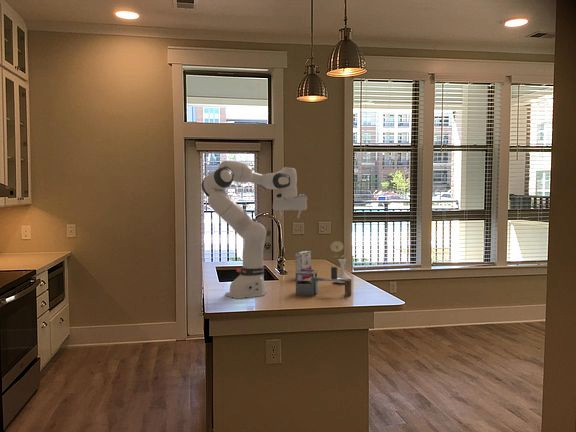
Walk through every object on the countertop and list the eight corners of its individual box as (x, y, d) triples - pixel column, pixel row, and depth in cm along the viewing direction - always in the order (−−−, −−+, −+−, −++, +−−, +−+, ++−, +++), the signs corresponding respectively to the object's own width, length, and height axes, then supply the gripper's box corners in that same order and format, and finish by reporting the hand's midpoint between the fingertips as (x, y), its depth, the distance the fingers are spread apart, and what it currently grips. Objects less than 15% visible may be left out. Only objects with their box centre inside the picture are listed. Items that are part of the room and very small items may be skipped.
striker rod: (348, 292, 267) (348, 266, 267) (347, 294, 262) (347, 268, 261) (312, 291, 272) (312, 265, 271) (310, 293, 266) (310, 267, 265)
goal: (317, 291, 274) (317, 269, 273) (313, 296, 262) (313, 273, 262) (300, 291, 276) (299, 269, 275) (295, 295, 264) (295, 273, 264)
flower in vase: (353, 281, 302) (353, 240, 301) (350, 285, 291) (350, 242, 290) (332, 280, 306) (331, 239, 304) (328, 284, 295) (328, 241, 293)
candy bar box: (305, 275, 323) (305, 250, 322) (311, 276, 320) (311, 251, 319) (295, 278, 314) (294, 252, 313) (301, 279, 311) (301, 253, 310)
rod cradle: (351, 294, 267) (351, 278, 266) (350, 296, 262) (350, 280, 261) (345, 293, 267) (345, 278, 267) (344, 295, 262) (344, 280, 262)
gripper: (307, 194, 297) (308, 217, 298) (273, 194, 299) (273, 217, 300) (306, 194, 291) (307, 218, 292) (272, 194, 293) (272, 218, 294)
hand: (290, 217), depth 296 cm, fingers open, 8 cm apart
